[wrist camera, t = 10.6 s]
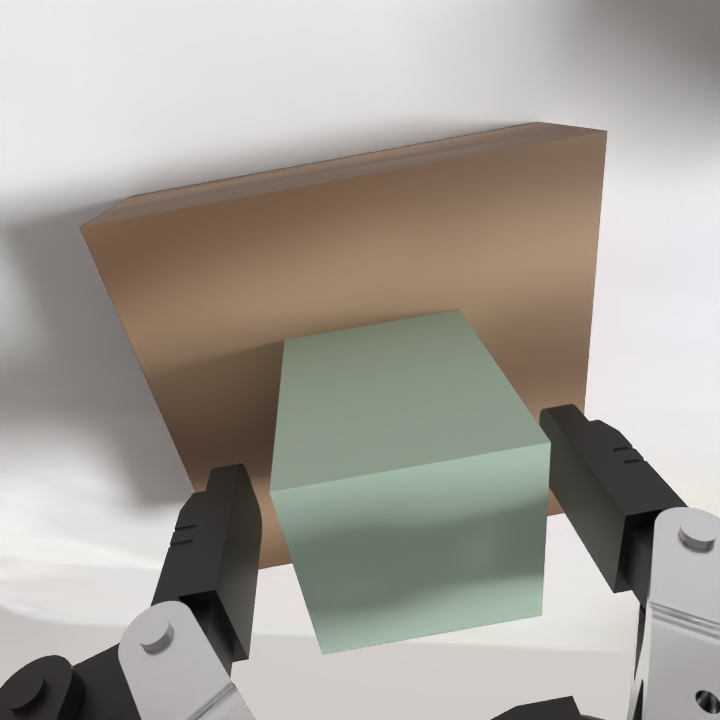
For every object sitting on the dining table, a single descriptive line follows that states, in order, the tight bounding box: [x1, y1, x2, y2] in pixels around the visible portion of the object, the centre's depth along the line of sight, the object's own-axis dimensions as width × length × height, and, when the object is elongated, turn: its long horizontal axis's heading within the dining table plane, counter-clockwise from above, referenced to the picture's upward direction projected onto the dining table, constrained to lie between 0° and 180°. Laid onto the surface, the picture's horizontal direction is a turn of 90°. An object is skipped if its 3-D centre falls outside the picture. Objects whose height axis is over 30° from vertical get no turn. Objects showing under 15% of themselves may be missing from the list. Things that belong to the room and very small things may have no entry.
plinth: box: [80, 122, 607, 569], centre depth 17 cm, size 13×13×4 cm
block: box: [270, 309, 551, 655], centre depth 12 cm, size 5×5×6 cm
